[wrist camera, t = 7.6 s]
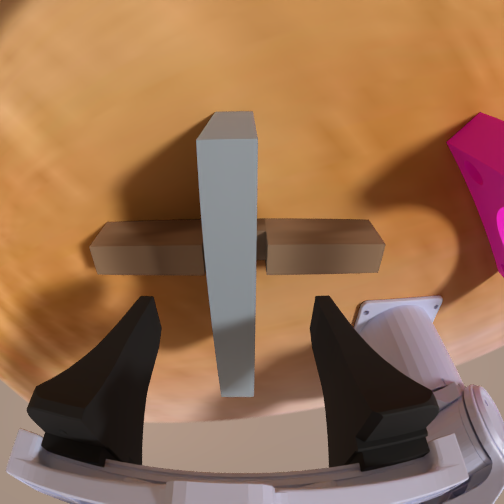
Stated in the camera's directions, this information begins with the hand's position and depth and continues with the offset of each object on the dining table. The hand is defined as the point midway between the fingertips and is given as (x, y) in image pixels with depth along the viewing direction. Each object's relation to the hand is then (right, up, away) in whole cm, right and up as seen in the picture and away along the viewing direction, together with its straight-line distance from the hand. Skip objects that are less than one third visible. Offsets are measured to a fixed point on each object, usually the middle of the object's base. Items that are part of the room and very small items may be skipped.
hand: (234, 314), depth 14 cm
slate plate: (0, +4, +6) cm, 7 cm away
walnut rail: (0, +4, +6) cm, 7 cm away
